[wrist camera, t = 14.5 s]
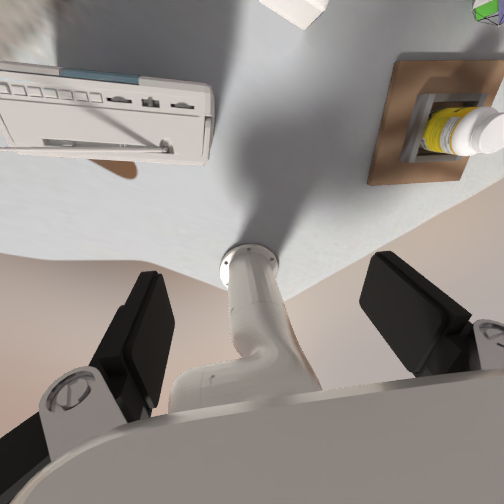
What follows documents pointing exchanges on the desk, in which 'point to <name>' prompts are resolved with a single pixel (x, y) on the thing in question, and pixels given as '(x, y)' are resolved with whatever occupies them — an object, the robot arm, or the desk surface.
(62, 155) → the stereo radio cassette player
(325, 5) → the medicine bottle
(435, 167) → the carrier plate
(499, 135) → the pill bottle
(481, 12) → the geometric puzzle
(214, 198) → the desk surface
